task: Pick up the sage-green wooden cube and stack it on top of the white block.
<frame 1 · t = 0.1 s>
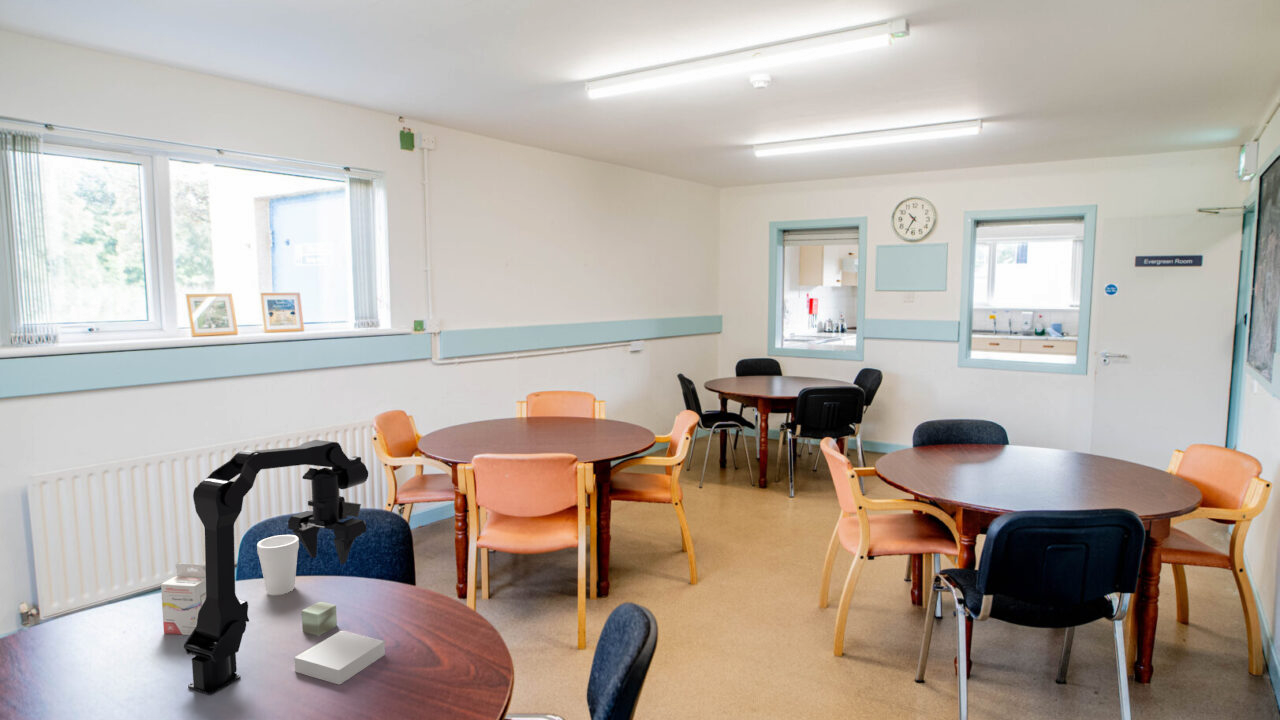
hand: (328, 560, 155), 14 cm above the table, fingers open, 9 cm apart
foam cup: (280, 590, 173), on the table
sage cube: (319, 629, 153), on the table
ink cartridge box: (188, 630, 152), on the table
white block: (341, 662, 138), on the table
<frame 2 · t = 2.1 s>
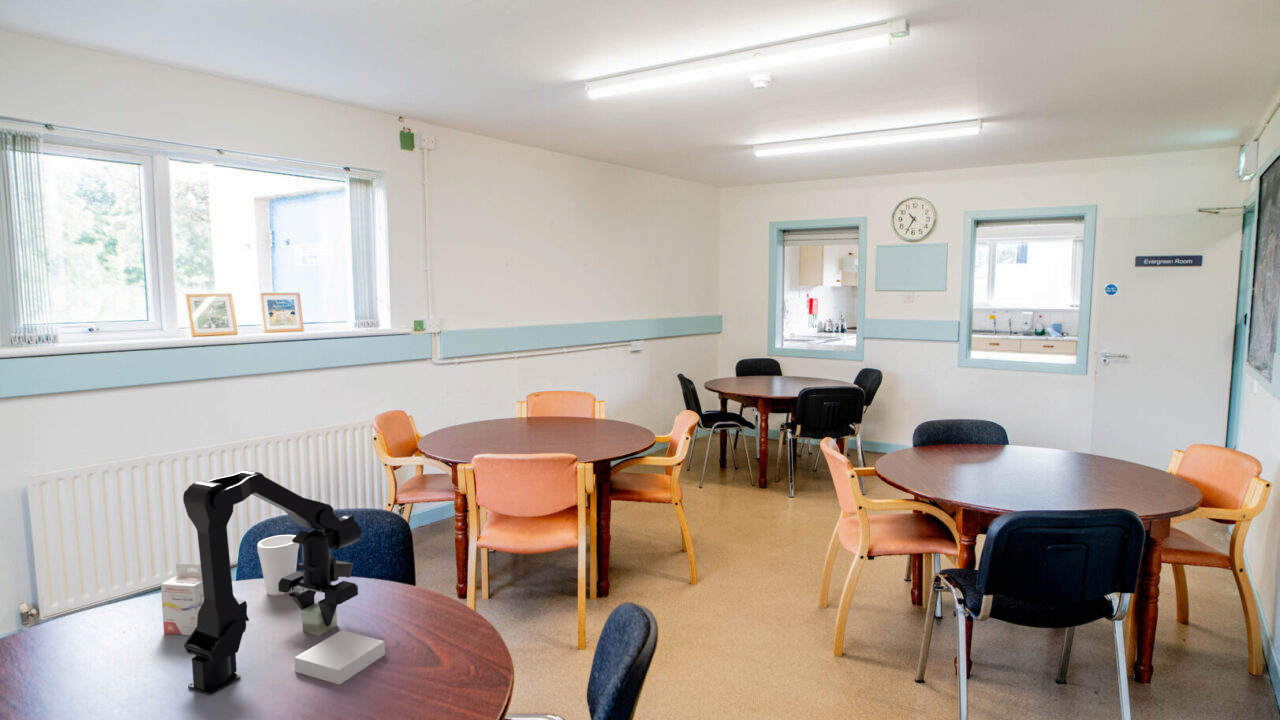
hand: (319, 623, 153), 1 cm above the table, fingers closed on sage cube, 5 cm apart
sage cube: (320, 628, 153), on the table, touching gripper
everything else where it was.
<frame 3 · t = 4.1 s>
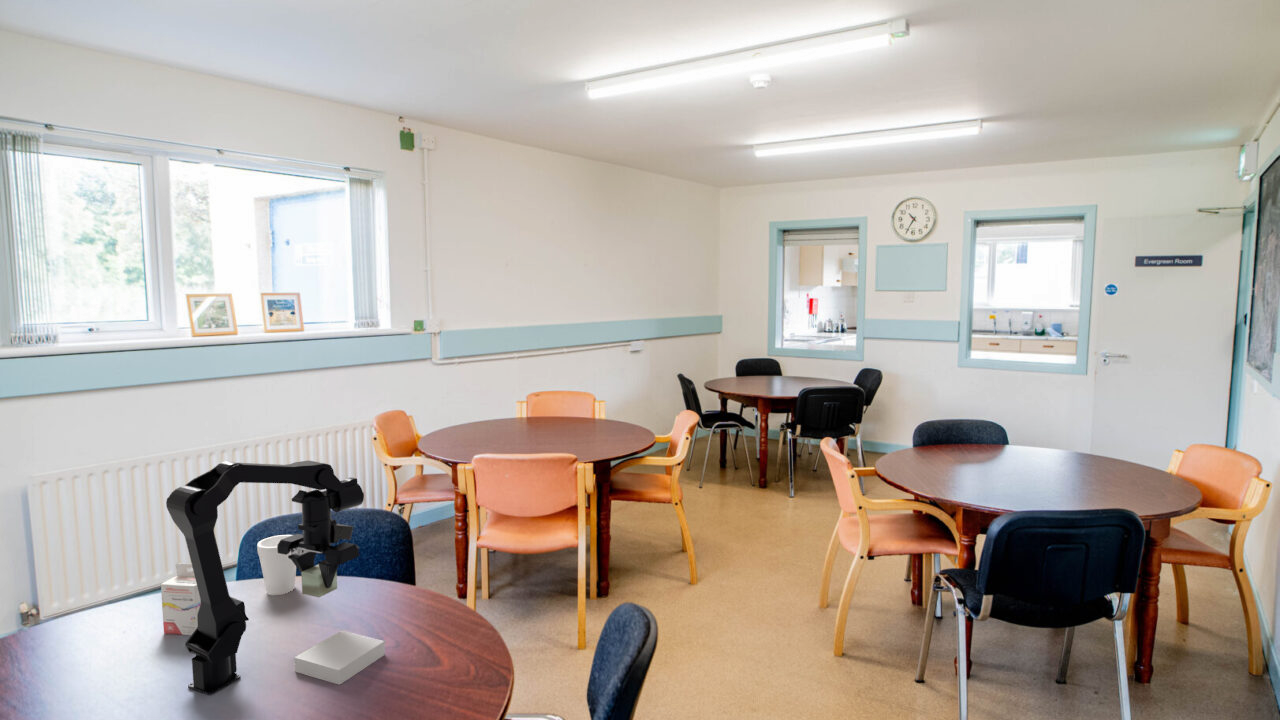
hand: (319, 585, 150), 11 cm above the table, fingers closed on sage cube, 5 cm apart
sage cube: (319, 591, 150), point 10 cm above the table, touching gripper
everything else where it was.
when the fingers open (6 cm above the table, at t = 6.6 s): sage cube drops 2 cm, resting on white block.
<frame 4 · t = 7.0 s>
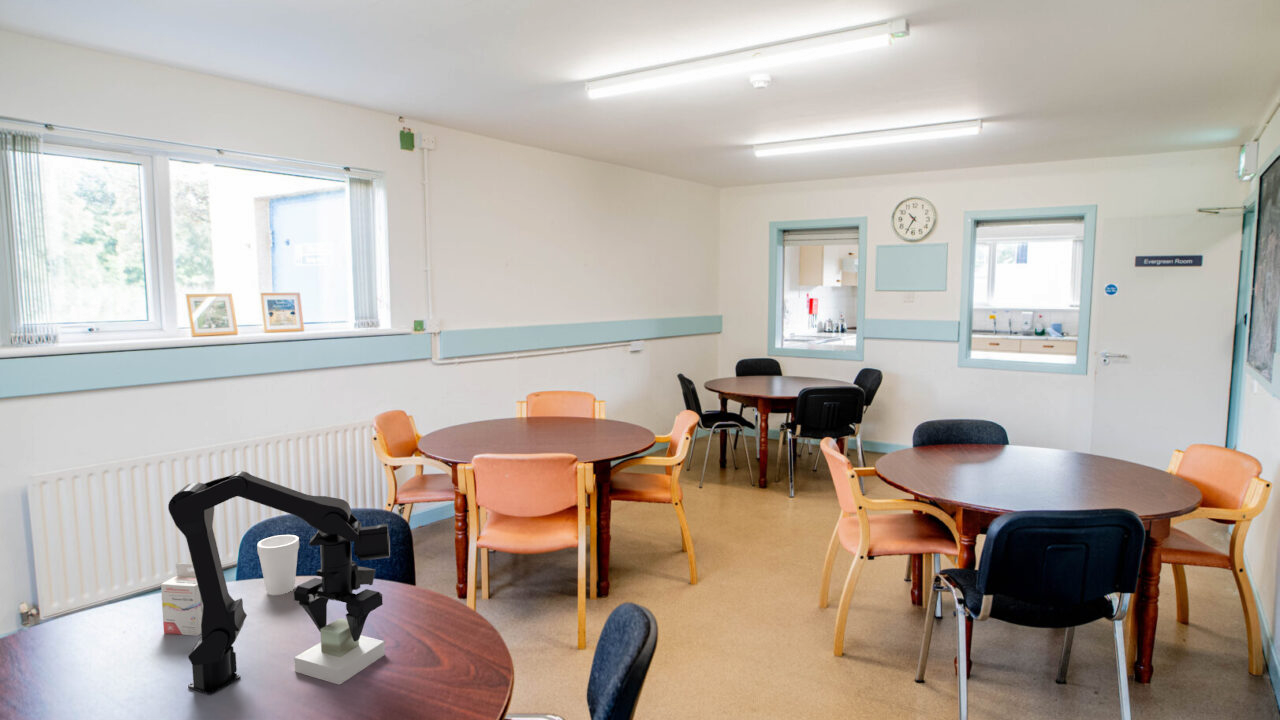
hand: (339, 636, 138), 6 cm above the table, fingers open, 9 cm apart
sage cube: (340, 648, 138), point 3 cm above the table, touching white block
everything else where it was.
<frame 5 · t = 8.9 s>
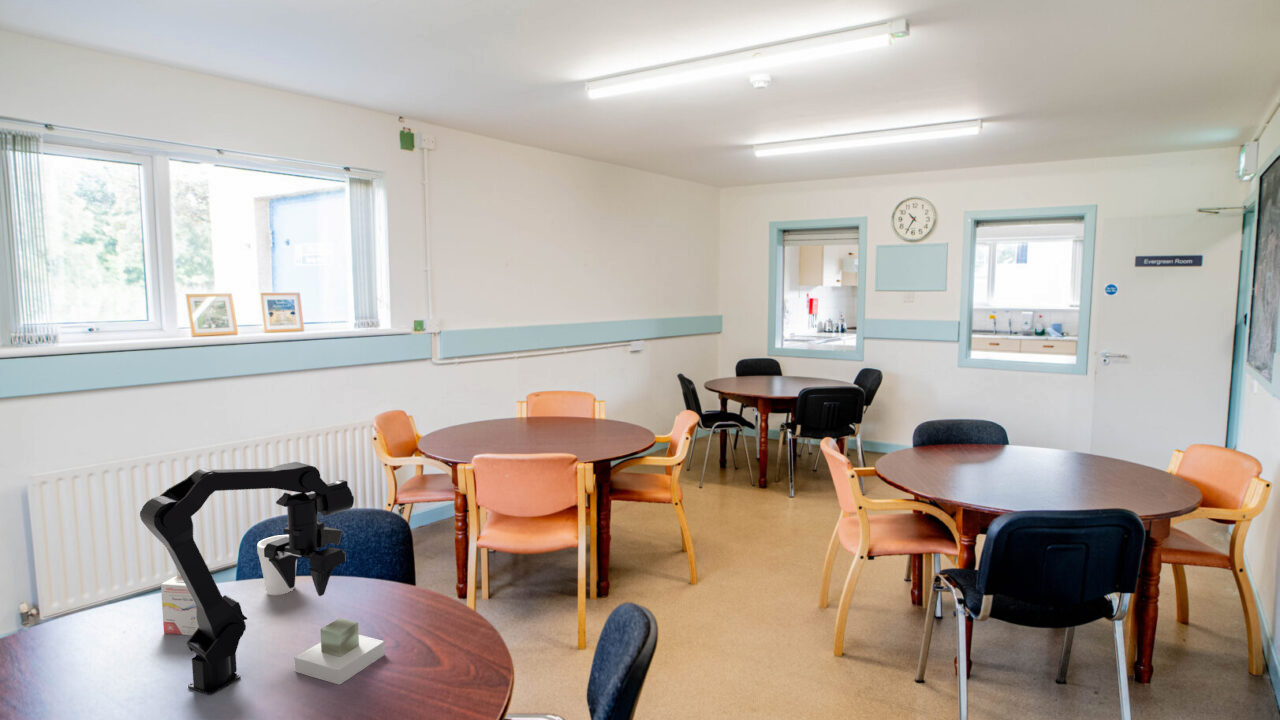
hand: (306, 591, 145), 12 cm above the table, fingers open, 9 cm apart
nothing on the table moved.
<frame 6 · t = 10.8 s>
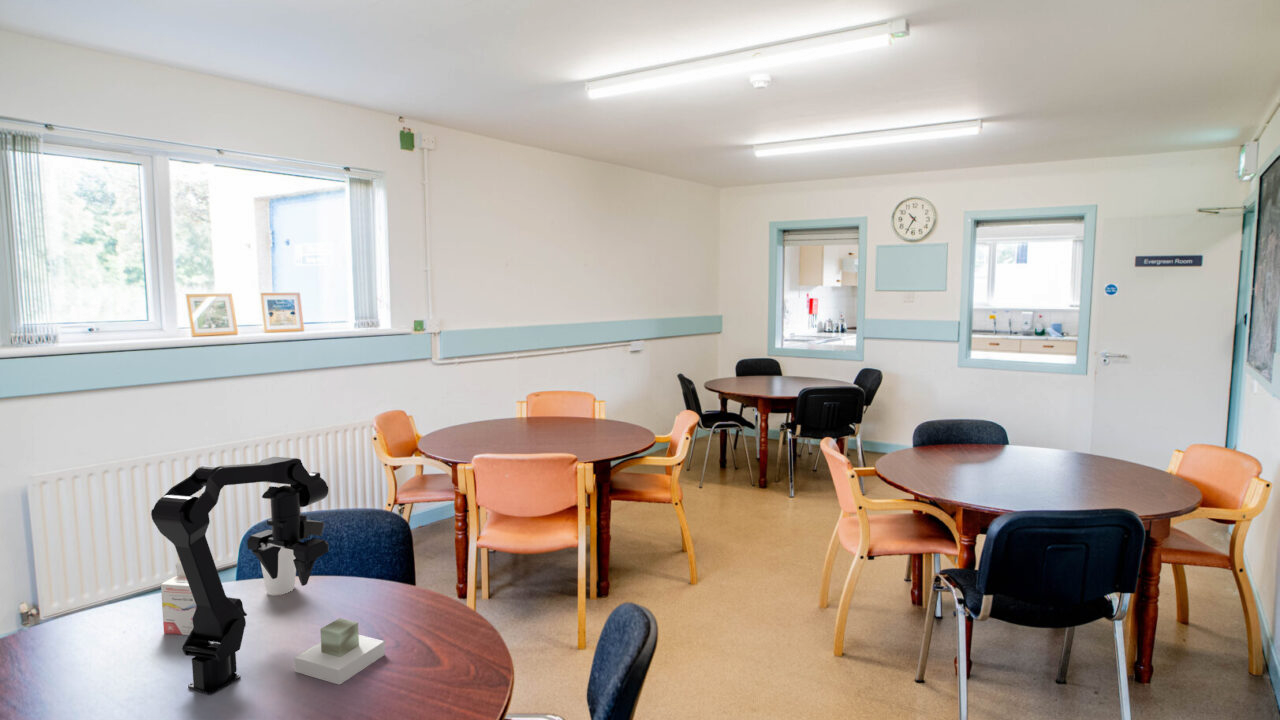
hand: (289, 581, 149), 12 cm above the table, fingers open, 9 cm apart
nothing on the table moved.
at the end: sage cube inside the target area on the white block (0.1 cm from its centre), point 3.0 cm above the white block's base; sage cube tilted 0°; the gripper is holding nothing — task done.
